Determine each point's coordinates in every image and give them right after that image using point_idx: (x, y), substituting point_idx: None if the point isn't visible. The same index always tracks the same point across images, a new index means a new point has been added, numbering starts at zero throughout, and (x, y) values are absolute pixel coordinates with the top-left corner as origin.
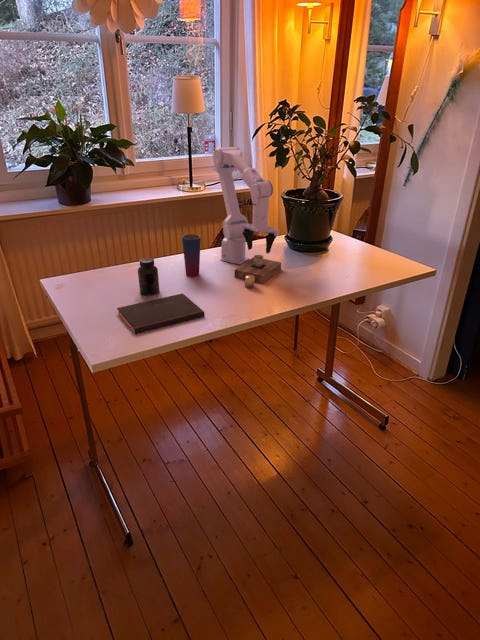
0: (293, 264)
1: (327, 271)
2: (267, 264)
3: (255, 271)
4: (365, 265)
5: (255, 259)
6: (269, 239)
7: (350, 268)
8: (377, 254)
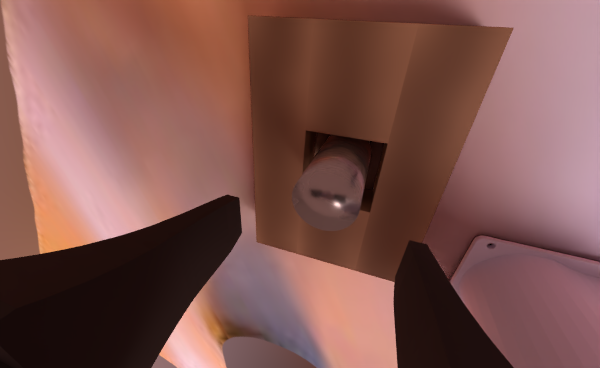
0: (254, 269)
1: None
2: None
3: (325, 73)
4: None
5: (342, 168)
6: (21, 267)
7: None
8: None
